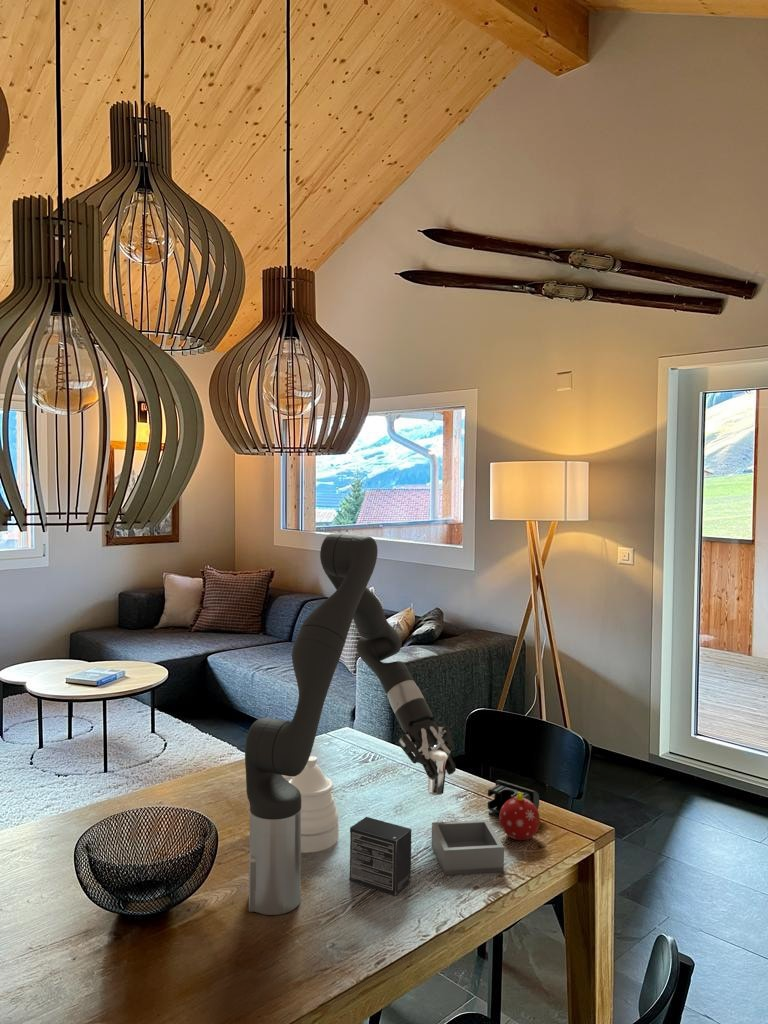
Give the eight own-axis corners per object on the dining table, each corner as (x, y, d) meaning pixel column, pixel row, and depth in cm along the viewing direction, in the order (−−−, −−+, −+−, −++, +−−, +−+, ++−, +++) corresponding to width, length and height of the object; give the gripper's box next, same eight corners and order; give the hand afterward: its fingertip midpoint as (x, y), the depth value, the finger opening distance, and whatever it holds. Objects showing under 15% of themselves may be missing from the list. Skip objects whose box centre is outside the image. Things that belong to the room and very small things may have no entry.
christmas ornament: (526, 851, 159) (527, 804, 159) (491, 838, 165) (492, 792, 164) (546, 837, 166) (547, 791, 165) (512, 825, 171) (513, 781, 171)
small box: (412, 881, 147) (413, 827, 147) (396, 897, 141) (396, 841, 141) (366, 866, 152) (366, 814, 152) (348, 881, 147) (348, 827, 146)
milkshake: (448, 798, 164) (450, 751, 163) (423, 795, 165) (425, 749, 164) (450, 790, 168) (452, 745, 168) (426, 787, 169) (428, 742, 169)
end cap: (539, 816, 176) (540, 787, 176) (523, 827, 170) (524, 797, 170) (501, 804, 182) (502, 776, 182) (485, 814, 177) (486, 785, 177)
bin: (443, 875, 149) (444, 850, 149) (431, 845, 161) (431, 822, 161) (503, 871, 151) (504, 847, 151) (487, 842, 163) (487, 819, 162)
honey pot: (344, 848, 160) (345, 763, 159) (282, 856, 156) (283, 769, 155) (331, 821, 172) (332, 742, 171) (274, 828, 168) (274, 747, 167)
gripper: (392, 701, 167) (427, 774, 158) (440, 692, 176) (476, 759, 167) (376, 719, 171) (410, 790, 162) (425, 709, 180) (459, 776, 171)
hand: (443, 774), depth 165 cm, fingers closed on milkshake, 4 cm apart
